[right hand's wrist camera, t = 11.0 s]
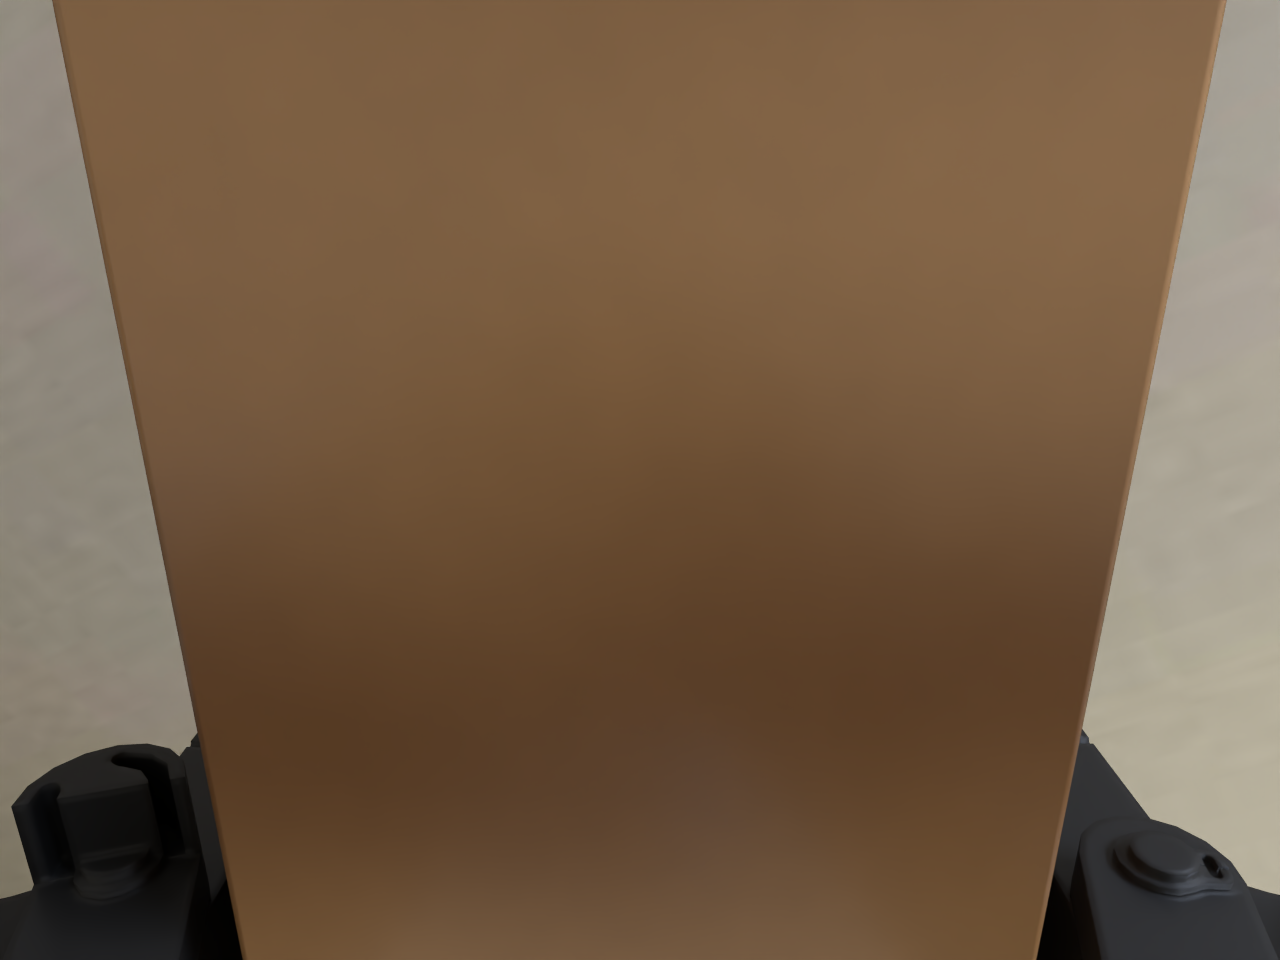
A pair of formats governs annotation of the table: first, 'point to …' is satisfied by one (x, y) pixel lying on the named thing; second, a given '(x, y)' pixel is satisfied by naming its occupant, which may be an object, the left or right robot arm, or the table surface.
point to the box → (639, 449)
